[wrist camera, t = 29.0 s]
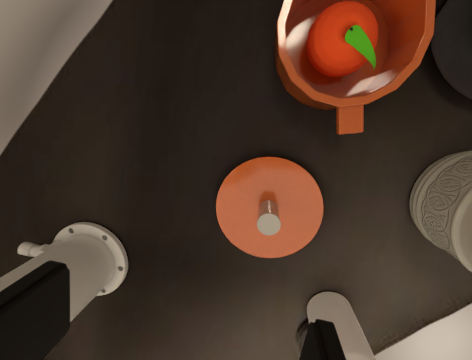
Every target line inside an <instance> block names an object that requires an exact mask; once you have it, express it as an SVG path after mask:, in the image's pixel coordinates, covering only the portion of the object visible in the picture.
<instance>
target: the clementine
mask: <svg viewBox="0 0 472 360" xmlns="http://www.w3.org/2000/svg"><path fill="white" fill-rule="evenodd" d="M377 39H378V24H377V21H376V18H375V16H374V14H373V13H372V11H371V10H370V9H369V8H368V7H366V6H365V5H364V4H361V3H358V2H353V1H343V2H339V3H335V4H333V5H332V6H330V7H328V8H326V9H325V10H324V11H323V12H322V13H321V14H320V15H319V16H318V17H317V18H316V19H315V21H314V22H313V24H312V25H311V28H310V30H309V33H308V36H307V43H306V49H307V56H308V58H309V61H310V63H311V64H312V66H313V67H314V68H315V69H316V70H317V71H318V72H320V73H321V74H323V75H326V76H330V77H340V76H345V75H349V74H351V73H353V72H355V71H357V70H358V69H359V68H360V67H362V66H363V65H364V64H365V63H366V62H367V60H369V62H370V63H371V64H372V66H373V70H374V69H375V66H376V57H375V53H374V49H375V47H376V44H377Z"/></svg>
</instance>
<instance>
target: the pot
mask: <svg viewBox="0 0 472 360" xmlns="http://www.w3.org/2000/svg"><path fill="white" fill-rule="evenodd" d="M343 1H353V2H358V3H361V4H364V5H365V6H366V7H368V8H369V9H370V10H371V11H372V13H373V14H374V16H375V18H376V21H377V24H378V39H377V44H376V47H375V49H374V53H375V57H376V66H375V69H374V70H373V66H372V64H371V63H370V62H369V60H367V62H366V63H365V64H364V65H363V66H362V67H360V68H359V69H358V70H357V71H355V72H353V73H351V74H349V75H345V76H340V77H330V76H326V75H323V74H321V73H320V72H318V71H317V70H316V69H315V68H314V67H313V66H312V64H311V63H310V61H309V58H308V56H307V49H306V43H307V36H308V33H309V30H310V28H311V25H312V24H313V22H314V21H315V19H316V18H317V17H318V16H319V15H320V14H321V13H322V12H323V11H324V10H325V9H326V8H328V7H330V6H332V5H333V4H335V3H339V2H343ZM435 7H436V0H284V1H283V5H282V8H281V11H280V15H279V18H278V22H277V28H276V37H275V61H276V70H277V72H278V75H279V77H280V80H281V81H282V83H283V85H284V87H285V89H286V90H287V91H288V92H289V93H290V94H291V95H292V96H293V97H294V98H296V99H297V100H298V101H300V102H301V103H303V104H305V105H308V106H310V107H314V108H318V109H322V110H328V109H336V128H337V134H350V133H360V132H363V120H364V105H365V104H369V103H371V102H373V101H375V100H377V99H379V98H381V97H383V96H385V95H387V94H389V93H390V92H392V91H394V90H396V89H397V88H398V87H399V86H400V85H401V84H402V83H403V82H404V81H405V80H406V79H407V78H408V77H409V76H410V75H411V74H412V73H413V71H414V70H415V69H416V68H417V67H418V66H419V65H420V63H421V61H422V59H423V56H424V54H425V52H426V50H427V48H428V45H429V43H430V41H431V39H432V36H433V34H434V23H435Z"/></svg>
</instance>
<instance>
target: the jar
mask: <svg viewBox="0 0 472 360" xmlns="http://www.w3.org/2000/svg"><path fill="white" fill-rule="evenodd" d="M409 207H410V213H411V217H412V219H413V222H414V223H415V225H416V226H417V228H418V229H419V231H420V232H421V233H422V234H423V235H424V236H425V237H426V238H427V239H428V240H429V241H431V242H432V243H433V244H434V245H436V246H438V247H439V248H441V249H443V250H445V251H447V252H448V253H449V254H451V255H452V256H454V257H455V258H456V259H458V260H459V261H460V262H461V263H462V264H463V265H464V266H465V267H466V268H467V269H468V270H469V271H471V272H472V150H471V151H463V152H457V153H454V154H450V155H448V156H445V157H443V158H441V159H439V160H438V161H436V162H434V163H433V164H432V165H430V166H429V167H428V168H427V169H426V170H425V171H424V172H423V173H422V174H421V175H420V177H419V178H418V179H417V181H416V183H415V184H414V187H413V189H412V192H411V195H410V202H409Z"/></svg>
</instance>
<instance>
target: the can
mask: <svg viewBox="0 0 472 360" xmlns="http://www.w3.org/2000/svg"><path fill="white" fill-rule="evenodd" d="M307 315H308V320H309V324H310V322H314V323H315V320H316V319H321V320H325V321H330V322H333V323H334V325H335V328H336V331H337V334H338V337H339V340H340V343H341V346H342V349H343V352H344V355H345V358H346V360H375V357H374V355H373V353H372V351H371V349H370V346H369V344H368V342H367V340H366V338H365V335H364V333H363V331H362V329H361V327H360V325H359V322H358V320H357V318H356V316H355V314H354V312H353V309H352V307H351V305H350V303H349V302H348V300H347V299H346V298H345V297H344V296H342V295H340V294H338V293H335V292H321V293H319V294H317V295H315V296H314V297H312V298H311V300H310V301H309V303H308V305H307Z"/></svg>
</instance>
